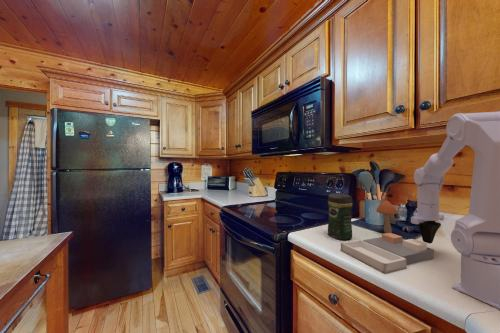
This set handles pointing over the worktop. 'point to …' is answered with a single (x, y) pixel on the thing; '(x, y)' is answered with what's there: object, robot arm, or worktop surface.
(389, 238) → the terracotta tile
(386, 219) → the mushroom
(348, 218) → the coffee jar
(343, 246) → the grey bin
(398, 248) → the slate board
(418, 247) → the cream tile
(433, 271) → the worktop surface
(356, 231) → the worktop surface
